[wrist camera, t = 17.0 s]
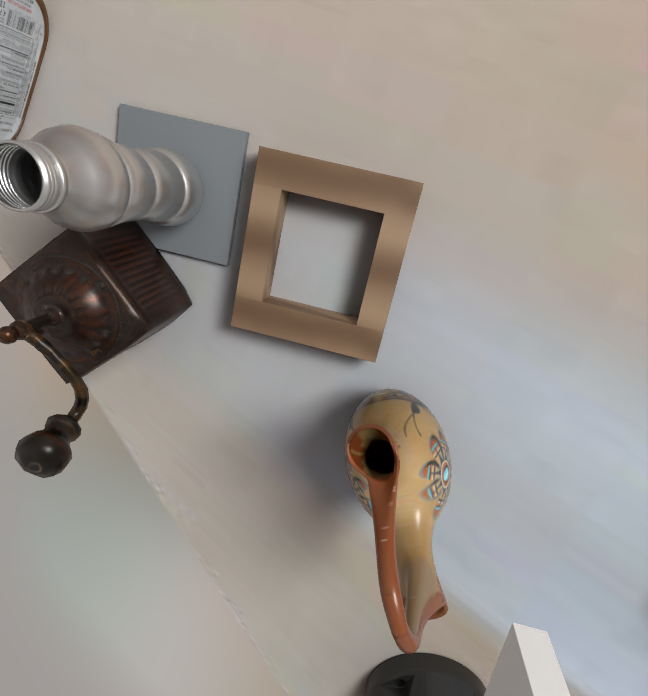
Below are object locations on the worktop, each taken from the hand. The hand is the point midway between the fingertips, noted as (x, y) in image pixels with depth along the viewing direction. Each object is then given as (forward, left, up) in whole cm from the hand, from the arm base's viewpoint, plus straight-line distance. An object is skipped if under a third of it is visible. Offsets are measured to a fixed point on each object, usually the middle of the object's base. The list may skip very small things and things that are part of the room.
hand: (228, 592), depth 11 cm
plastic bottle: (+6, +18, -35) cm, 40 cm away
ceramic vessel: (-12, -7, -36) cm, 39 cm away
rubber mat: (+6, +19, -36) cm, 41 cm away
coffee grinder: (-6, +21, -36) cm, 42 cm away
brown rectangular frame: (+3, +4, -36) cm, 36 cm away
